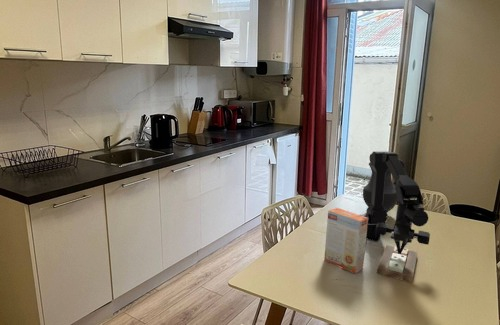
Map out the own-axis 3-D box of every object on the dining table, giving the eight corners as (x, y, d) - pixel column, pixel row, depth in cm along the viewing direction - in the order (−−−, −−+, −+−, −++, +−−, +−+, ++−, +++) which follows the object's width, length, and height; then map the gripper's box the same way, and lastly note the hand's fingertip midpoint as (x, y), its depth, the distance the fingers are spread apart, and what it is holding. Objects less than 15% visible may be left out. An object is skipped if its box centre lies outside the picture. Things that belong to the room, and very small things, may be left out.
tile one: (387, 272, 133) (388, 265, 133) (389, 266, 138) (390, 260, 137) (402, 276, 131) (403, 269, 131) (403, 270, 135) (404, 263, 135)
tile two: (390, 264, 139) (391, 257, 139) (392, 258, 144) (392, 252, 143) (404, 267, 137) (405, 261, 136) (405, 261, 141) (406, 255, 141)
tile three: (392, 256, 145) (393, 250, 145) (394, 251, 150) (395, 245, 149) (406, 259, 143) (407, 253, 143) (407, 254, 147) (408, 248, 147)
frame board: (376, 273, 134) (377, 268, 133) (385, 249, 153) (386, 245, 152) (412, 282, 128) (412, 277, 128) (416, 256, 147) (417, 252, 147)
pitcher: (355, 209, 198) (360, 156, 191) (388, 207, 203) (394, 155, 196) (372, 221, 182) (379, 163, 175) (408, 219, 187) (416, 162, 180)
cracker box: (363, 269, 137) (369, 217, 132) (354, 274, 133) (360, 221, 128) (332, 255, 147) (336, 206, 142) (323, 259, 143) (327, 209, 138)
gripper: (374, 217, 133) (370, 256, 137) (431, 228, 125) (424, 269, 128) (379, 208, 143) (375, 244, 146) (432, 218, 134) (426, 256, 138)
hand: (399, 253), depth 139 cm, fingers closed
